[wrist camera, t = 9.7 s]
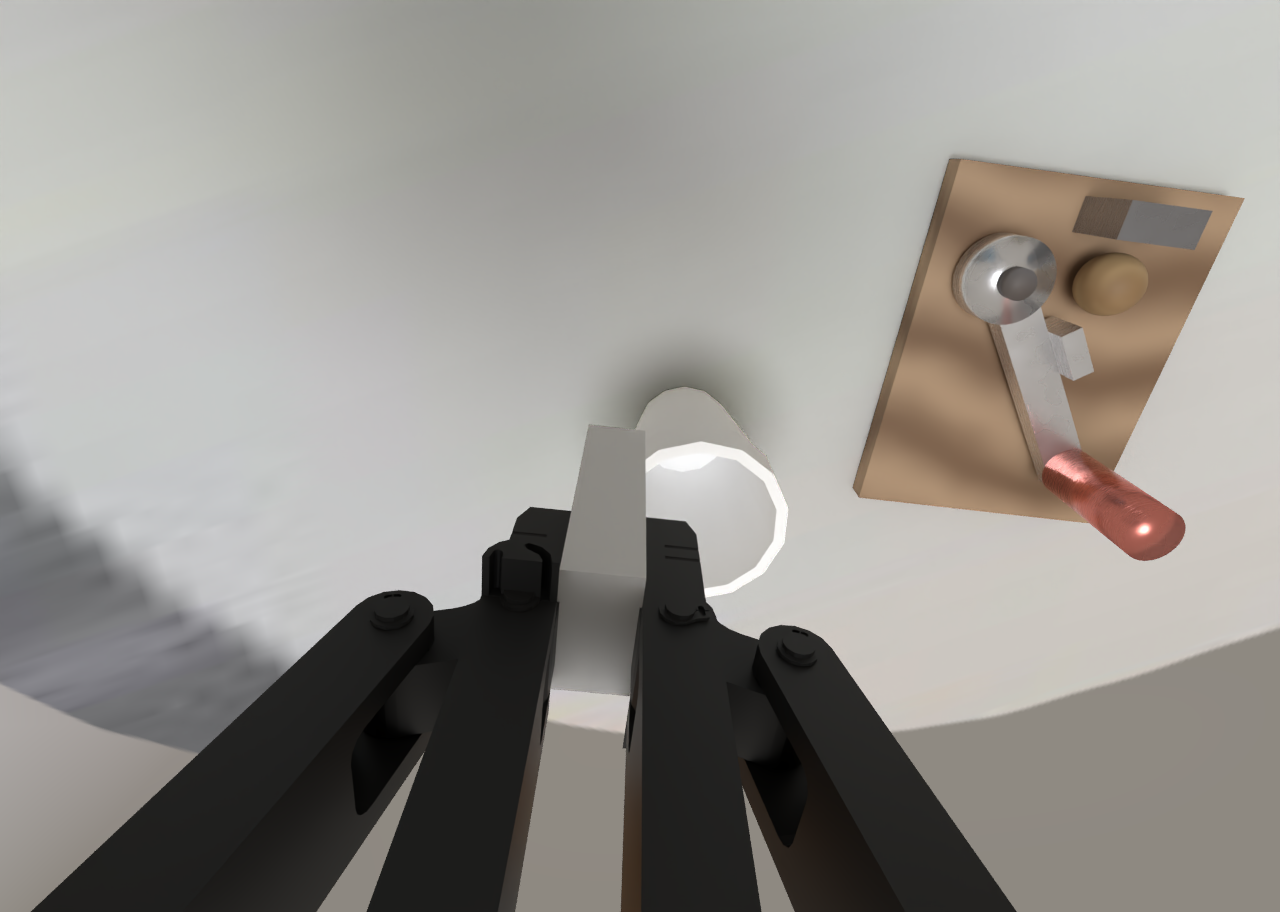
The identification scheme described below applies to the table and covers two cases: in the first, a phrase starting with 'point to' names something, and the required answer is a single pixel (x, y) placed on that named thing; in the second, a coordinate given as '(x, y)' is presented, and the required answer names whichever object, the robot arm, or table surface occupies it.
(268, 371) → the table surface
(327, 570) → the table surface
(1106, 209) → the two-tone textured tile
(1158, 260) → the board
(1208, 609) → the table surface
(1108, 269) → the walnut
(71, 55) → the table surface
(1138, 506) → the lever
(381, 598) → the robot arm
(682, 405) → the foam cup
